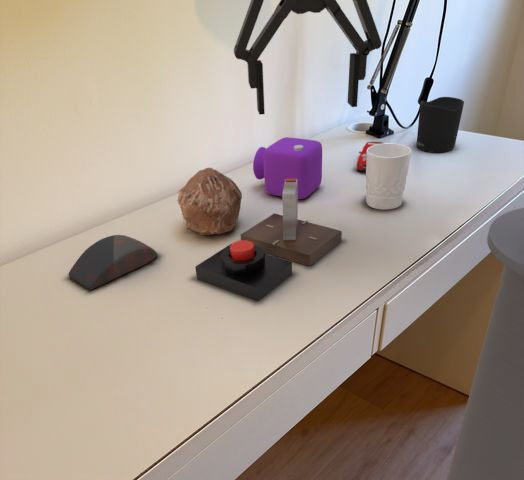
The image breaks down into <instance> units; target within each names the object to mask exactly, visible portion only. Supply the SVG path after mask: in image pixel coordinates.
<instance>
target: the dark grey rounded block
mask: <svg viewBox="0 0 524 480" xmlns="http://www.w3.org/2000/svg"><path fill="white" fill-rule="evenodd" d="M157 257H158V253H157V251H155V249H154V248H152V247H151V246H149V245H147V244H146V243H144V242H142V241H140V240H139V239H135V238H133V237H132V236H131V237H130V236H128V235H123V234H113V235H109V236H106V237H103V238H101V239H98V240H97V241H96V242H94V243H93V244H91V245H90V246H89V247H87V248H86V249H85V250H83V252H82V253H81V254H80V256H79V257H78V259H77V260H76V261H75V262H74V264H73V265H72V267H71V269H70V270H69V272H68V273H67V275H68V276H69V278H71V279H72V280H74V281H75V282H77V283H79V284H80V285H82V286H83V287H85V288H86V289H87V290H91V291H92V290H94V289H97V288H99V287H101V286H104V285H105V284H107V283H109V282H111V281H113V280H115V279H117V278H119V277H121V276H123V275H125V274H127V273H130V272H132V271H135V270H136V269H138V268H141V267H142V266H144V265H147V264H148V263H150V262H152V261H154V260H155V259H156V258H157Z"/></svg>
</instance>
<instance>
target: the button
mask: <svg viewBox="0 0 524 480" xmlns="http://www.w3.org/2000/svg"><path fill="white" fill-rule="evenodd" d="M230 244H231V246H230V251H231V258H232V259H234V260H237V261H245V260H249V259H252V258H253V257H254V256H255V253H254V244H253V243H252V242H250V241H245V240H241V239H240V240H236V241H234V242H232V243H230Z"/></svg>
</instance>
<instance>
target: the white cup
mask: <svg viewBox="0 0 524 480" xmlns="http://www.w3.org/2000/svg"><path fill="white" fill-rule="evenodd" d="M382 143H383V144H376V145H373V146H370V147H369V148H368V149H367V159H366V171H365V188H366V189H365V191H366V192H365V197H366V198H365V203H366V205H367V206H369V207H370V208H373V209H377V210H387V211H388V210H394V209H397V208H399V207H400V206H402V203H403V196H404V192H405V190H406V184H407V177H408V173H409V168H410V161H411V155H412V149H411V148H410V147H409V146H407V145H404V144H401V143H395V142H394V143H392V142H391V143H390V142H387V143H386V142H382Z"/></svg>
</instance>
